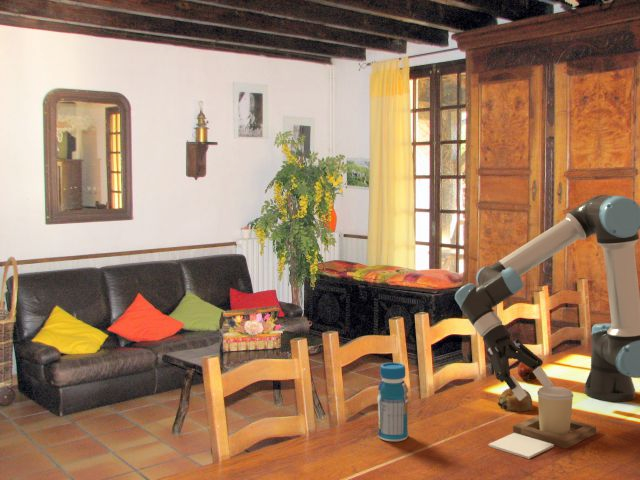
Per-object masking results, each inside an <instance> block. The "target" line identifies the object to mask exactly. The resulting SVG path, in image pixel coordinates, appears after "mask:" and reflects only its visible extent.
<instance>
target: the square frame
mask: <svg viewBox="0 0 640 480" xmlns="http://www.w3.org/2000/svg"><path fill="white" fill-rule="evenodd" d="M538 428H540V424H539V414H538V415H535V416H533V417H531V418H528V419H526V420H523V421H522V422H520V423H517V424H514V425H513V426H512V433H517V434H520V435H524V436H527V437H530V438H534V439H537V440H541V441H544V442H547V443H551V444H554V447H555V446H556V447H559V448H563V449H568V448H570V447H573V446H575V445H576V444H578V443H581V442H582V441H584V440H587V439H588V438H590V437H592V436H594V435H597V425H593V424H588V423H585V422H581V421H577V420H574V419H571V422H570V431H571V432H569V434H566V435H564V436H560V435H556V434H553V433H549V432H545V431H542V430H540V429H538Z"/></svg>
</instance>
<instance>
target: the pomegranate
mask: <svg viewBox="0 0 640 480" xmlns="http://www.w3.org/2000/svg"><path fill="white" fill-rule="evenodd" d="M533 371H534V370H533V369H531V368H530V367H528V366H527V365H525V364H523V363H522V362H519V364H518V365H517V374H518V376H519V377H520V378H521V379H522V380H524V381H525V380H528V381H527V382H528V384H529V383H530V380H531V381H532V380H537V377H536V376H535V374H534V373H533Z"/></svg>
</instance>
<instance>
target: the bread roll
mask: <svg viewBox="0 0 640 480" xmlns="http://www.w3.org/2000/svg"><path fill="white" fill-rule="evenodd" d="M522 389H523V390H524V391H525V393H526V394H527V396H525V397H524V398H523V399H522V400H520V401H519V400H518V398H517V397H516V395H515V394H514V393H513V391H512V390H511V389H510V388H509V387H508V388H506V389H505V390H503V392H502V393H501V394H500V395H498V397H497V398H498V402H497V405H498V406H499V407H500V408H501V409H503V410H505V411H510V412H515V411H516V412H517V411H518V412H528V410H529V411H530V410H531V411H532V410H533V409H534V407H533V398H532V396H531V394H530V393H529V391H528V390H526V389H524V388H523V387H522Z"/></svg>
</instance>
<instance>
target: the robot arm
mask: <svg viewBox="0 0 640 480" xmlns="http://www.w3.org/2000/svg"><path fill="white" fill-rule="evenodd" d="M639 231H640V205H639V203H637V202H636V201H635V200H634V199H632V198H630V197H627V196H625V195H613V194H612V195H611V194H600V195H595V196H593V197H591V198H589V199H588V200H586V201H584V202H582V203H581V204H580V205H578V206H577V207H575V208H574V209H572V210H571V211H569V212H567V213H566V215H565V218H564V219H563V220H561V221H559V222H558V223H556V224H555V225H553V226H552V227H550V228H549V229H547V230H545V231H544V232H542V233H541V234H539V235H538V236H536V237H535V238H533V239H531V240H529V241H528V242H527V243H525V244H523V245H521V247H519V248H517V249H515V250H514V251H513V252H511V253H509V254H507V255H505V257H503V258H501V259H500V260H498V261H497V262H495V263H493V264H492V265H490V266H484V267H481V268H480V269H479V270H478V271H477V273H476V276H475V280H476V283H477V285H478V286H477V285H475V283H472V282H469V283H467V284H464V285H463V286H461V287H460V288H459V289H458V290H457V291H456V292H455V294H454V300H455V302H456V303H457V305H458V306H459V309H460V310H461V311H462V312H463V315H465V316H466V318H467V319H468V322H470V324H471V325H472V326H473V328H474V330H476V332H477V333H478V335H479V336H480V337H481V338H482V341H483V342H484V344H485V345H486V346H487V348H488V349H487V350H486V353H487V355H488V357H489V360H490V362H491V366H492V368H493V372H494V375H495V378H496V379H497V381H500V382H501V383H504V382H505V383H506V385H507V386H508V389H509V388H510V389H511V390H512V391H513V393H514V394H515V395H516V397H517V398H518V400H519V401H520V400H522V399H523V398H524V397H525V396H527V394H526V393H525V391H524V390H523V389H524V388H523V387H522V385H520V382H519V381H518V380H517V379H516V377H515V376H514V374H513V375H511V369H510V360H512V359H513V360H517V361H519V363H521V362H522V363H523V364H525V365H527V366H528V367H530V368H531V369H533V370H534V371H533V373H534V374H535V376H536V377H537V378H536V380H538V382H539V383H540V384H541V386H542V387H546V386H554V383H553V381H552V380H551V378H549V376H548V374H547V373H546V371H544V369H543V368H542V365H543V364H544V363H543V362H544V361H543V360H542V359H541V358H540V357H539V356H537V355H536V354H535V353H534V352H533V351H532V350H531V349H529V348H528V347H527V346H526V345H525V344H523V343H522V341H521V340H520V339H518V338H516V339H515V340H514V341H512V340H511V332H510V331H509V329H508V328H507V327H506V325H504V324H503V320H501V318H500V317H499V316H498V314H497V313H496V312H495V310H494V309H493V308H494V307H496V306H498V305H499V304H501V303H503V302H504V301H505V300H507V299H509V298H510V297H512V296H514V295H516V294H517V293H519V291H521V290H522V289H523V288H524V287H525V286H524V281H523V280H522V278H521V276H523V275H524V274H526V273H528V272H529V271H531V270H532V269H533V268H536V267H537V266H538V265H540V264H541V263H543V262H544V261H546V260H548V259H550V258H551V257H553V256H554V255H556V254H557V253H559V252H561V251H562V250H564V249H566V248H567V247H569V246H571V245H572V244H573V243H575V242H577V241H578V240H586V239H588V238H589V237H591V236H593V235H596V244H597V245H598V246H600V247H601V248H602V249H603V259H604V269H605V275H606V285H607V294H608V295H607V296H608V304H609V313H610V323H605V322H604V323H596V324H593V326H592V327H591V334H590V337H591V338H590V339H591V342H590V343H591V344H590V346H591V348H590V370H589V373H588V376H587V379H586V381H585V384H584V394H585V396H588V397H591V398H592V399H597V400H602V401H606V402H607V401H608V402H627V401H628V402H629V401H632V400H634V399H635V397H636V389H635V385H634V382H633V378H635V379H636V378H637V379H638V378H640V287H639V281H638V271H637V260H636V250H635V249H636V248H635V245H636V244H637V243H638V241H640V236H639ZM522 388H523V389H522Z"/></svg>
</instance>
